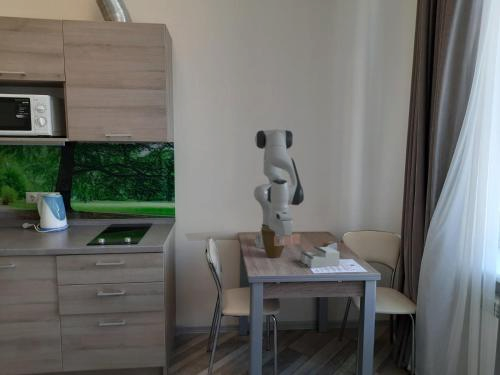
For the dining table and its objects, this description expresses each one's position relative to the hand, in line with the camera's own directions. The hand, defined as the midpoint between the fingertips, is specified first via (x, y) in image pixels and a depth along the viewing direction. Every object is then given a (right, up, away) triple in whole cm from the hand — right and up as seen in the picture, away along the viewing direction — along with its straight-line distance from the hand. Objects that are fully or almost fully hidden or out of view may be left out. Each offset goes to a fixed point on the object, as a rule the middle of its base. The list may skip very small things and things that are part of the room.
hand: (279, 241), depth 163 cm
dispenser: (+22, -14, +13) cm, 29 cm away
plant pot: (-1, -12, +25) cm, 28 cm away
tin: (+31, -13, +27) cm, 43 cm away
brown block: (+4, -2, +1) cm, 4 cm away
